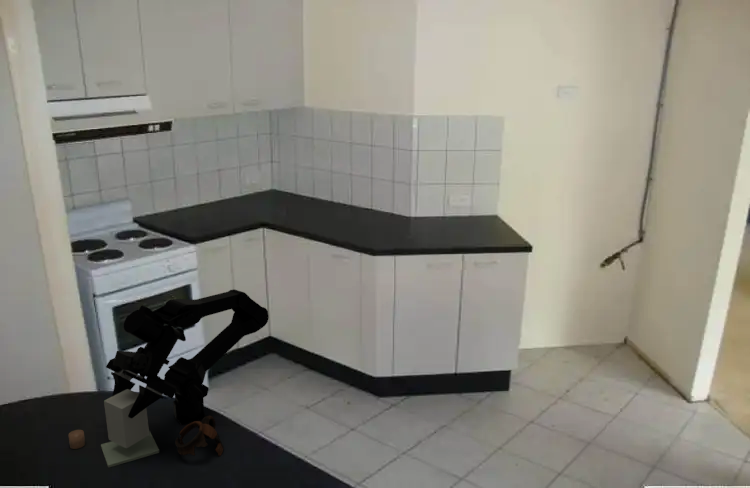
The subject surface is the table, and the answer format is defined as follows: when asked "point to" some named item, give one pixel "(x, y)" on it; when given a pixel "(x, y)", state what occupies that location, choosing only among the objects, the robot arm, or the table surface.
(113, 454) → the sage mat
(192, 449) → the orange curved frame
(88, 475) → the table surface
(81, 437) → the brown round lump
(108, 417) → the gray rectangular block
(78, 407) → the table surface
